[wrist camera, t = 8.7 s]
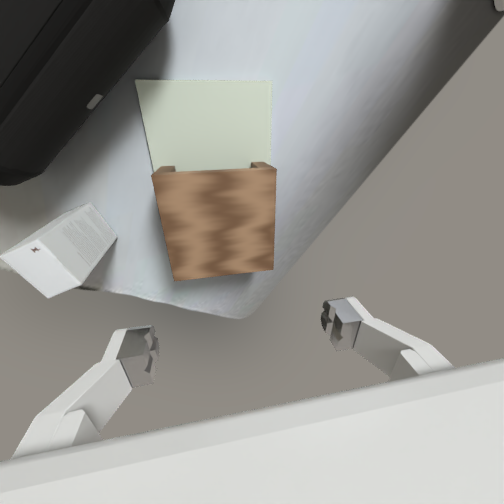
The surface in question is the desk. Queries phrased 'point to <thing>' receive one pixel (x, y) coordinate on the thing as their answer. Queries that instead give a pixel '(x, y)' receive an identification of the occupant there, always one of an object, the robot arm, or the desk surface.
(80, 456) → the robot arm
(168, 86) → the mat
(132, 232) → the desk surface
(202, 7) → the desk surface
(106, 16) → the portable speaker
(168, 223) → the stool
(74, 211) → the skincare box
